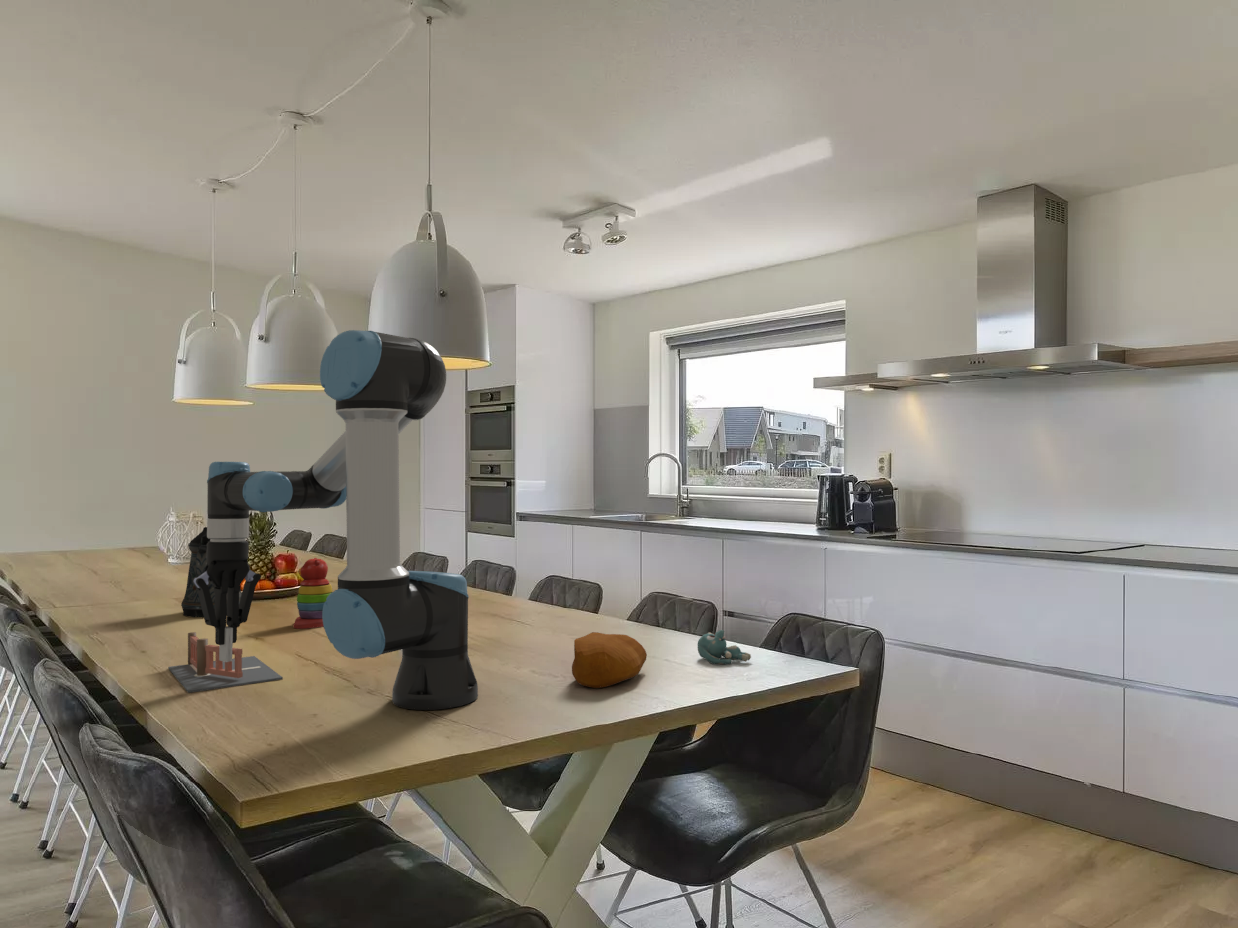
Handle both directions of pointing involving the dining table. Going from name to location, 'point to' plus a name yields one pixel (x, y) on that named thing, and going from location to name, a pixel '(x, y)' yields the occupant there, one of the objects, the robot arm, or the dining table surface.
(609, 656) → the bread
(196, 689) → the mat
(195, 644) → the fixed panel
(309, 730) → the dining table surface
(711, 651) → the stuffed animal
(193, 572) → the beer stein
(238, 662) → the hinged panel
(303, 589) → the stacking bear
